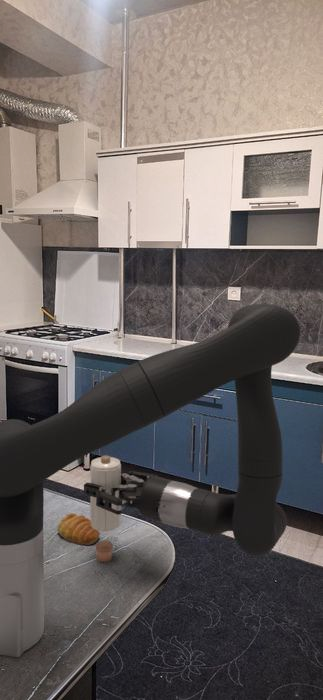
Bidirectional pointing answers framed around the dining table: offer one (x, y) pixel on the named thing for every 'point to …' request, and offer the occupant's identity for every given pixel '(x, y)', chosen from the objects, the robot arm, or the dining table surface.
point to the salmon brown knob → (104, 551)
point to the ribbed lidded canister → (106, 475)
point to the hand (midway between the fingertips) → (95, 482)
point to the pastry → (78, 530)
